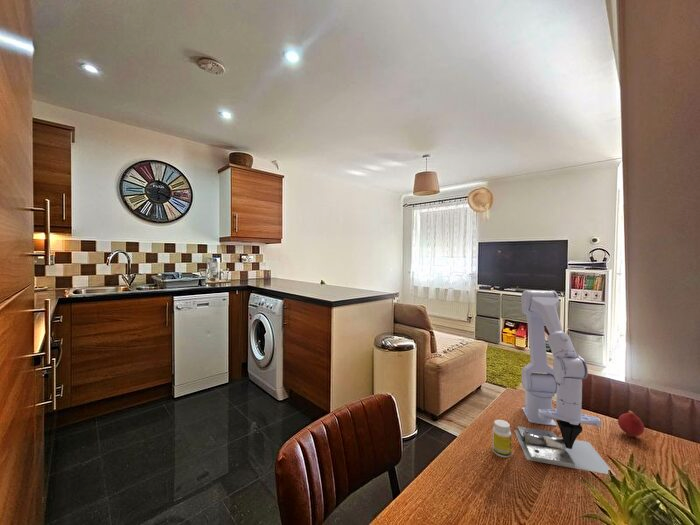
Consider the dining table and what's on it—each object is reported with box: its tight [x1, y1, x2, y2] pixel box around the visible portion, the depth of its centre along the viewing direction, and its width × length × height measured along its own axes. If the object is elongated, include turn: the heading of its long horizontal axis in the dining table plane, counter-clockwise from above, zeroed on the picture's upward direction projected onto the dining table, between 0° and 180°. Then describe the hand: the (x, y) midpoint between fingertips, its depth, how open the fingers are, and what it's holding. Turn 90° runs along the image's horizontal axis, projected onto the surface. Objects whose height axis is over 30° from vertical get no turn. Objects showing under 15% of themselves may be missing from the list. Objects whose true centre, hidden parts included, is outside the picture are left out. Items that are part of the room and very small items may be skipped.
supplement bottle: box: [491, 419, 512, 458], centre depth 83 cm, size 5×5×8 cm
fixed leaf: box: [516, 426, 558, 447], centre depth 88 cm, size 9×11×3 cm
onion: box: [617, 410, 645, 438], centre depth 91 cm, size 6×6×8 cm
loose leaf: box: [526, 436, 576, 469], centre depth 82 cm, size 9×10×3 cm
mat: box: [513, 429, 617, 477], centre depth 84 cm, size 14×20×1 cm
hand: (567, 446), depth 83 cm, fingers closed
